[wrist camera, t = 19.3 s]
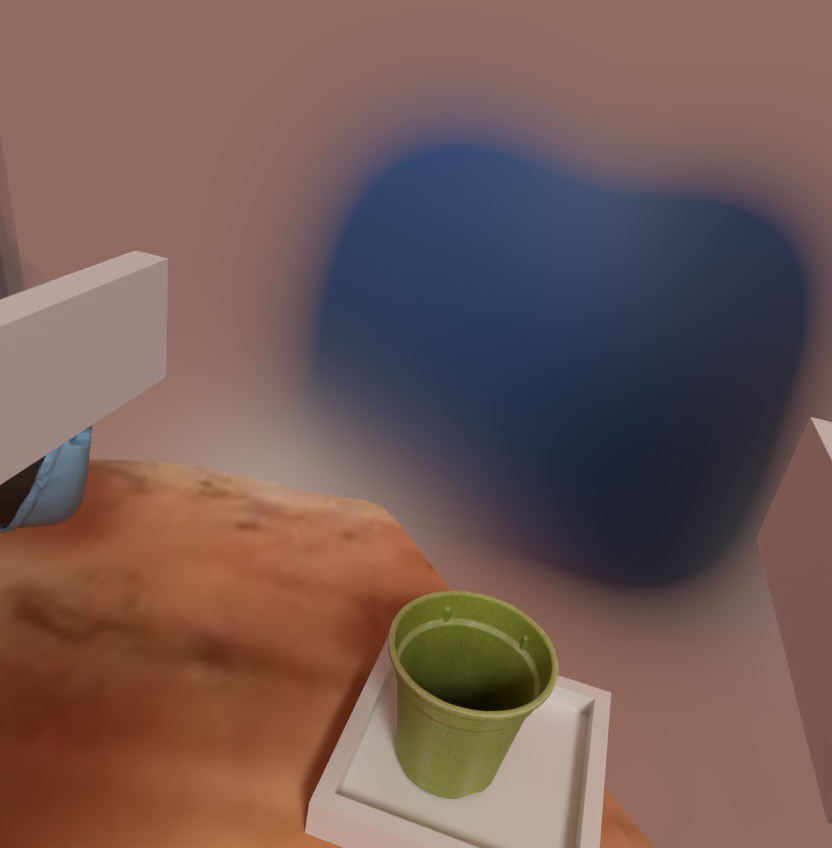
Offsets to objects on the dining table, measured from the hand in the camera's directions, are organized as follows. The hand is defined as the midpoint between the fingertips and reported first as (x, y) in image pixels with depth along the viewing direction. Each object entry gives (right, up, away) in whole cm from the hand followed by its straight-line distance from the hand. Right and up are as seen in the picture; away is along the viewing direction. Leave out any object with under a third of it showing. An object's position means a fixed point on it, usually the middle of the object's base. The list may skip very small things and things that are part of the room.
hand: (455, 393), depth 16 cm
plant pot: (+1, -21, +30) cm, 37 cm away
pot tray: (+2, -21, +31) cm, 38 cm away
